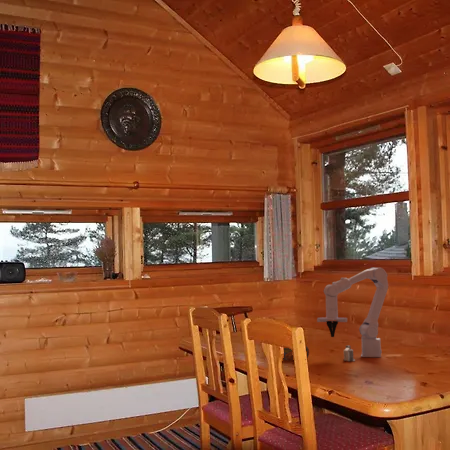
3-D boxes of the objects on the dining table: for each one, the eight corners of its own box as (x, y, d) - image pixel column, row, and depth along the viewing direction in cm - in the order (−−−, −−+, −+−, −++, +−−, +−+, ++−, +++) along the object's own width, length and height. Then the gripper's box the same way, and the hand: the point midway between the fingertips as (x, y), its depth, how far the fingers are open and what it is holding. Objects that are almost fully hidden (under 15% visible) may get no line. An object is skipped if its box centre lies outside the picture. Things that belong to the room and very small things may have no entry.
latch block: (355, 359, 299) (354, 349, 300) (354, 361, 294) (354, 350, 295) (348, 359, 300) (348, 349, 300) (347, 361, 295) (347, 350, 295)
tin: (278, 360, 304) (278, 342, 304) (281, 358, 307) (280, 341, 307) (308, 361, 297) (307, 344, 297) (310, 360, 300) (309, 343, 300)
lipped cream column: (346, 356, 306) (345, 347, 306) (350, 357, 305) (349, 347, 305) (343, 360, 296) (343, 350, 296) (348, 360, 295) (347, 350, 296)
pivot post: (353, 356, 308) (352, 345, 309) (352, 357, 304) (352, 346, 304) (344, 356, 310) (343, 345, 310) (343, 357, 305) (343, 346, 306)
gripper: (316, 309, 304) (316, 337, 303) (346, 309, 300) (347, 338, 300) (317, 308, 311) (318, 335, 310) (347, 308, 307) (348, 336, 306)
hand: (332, 336), depth 305 cm, fingers closed
